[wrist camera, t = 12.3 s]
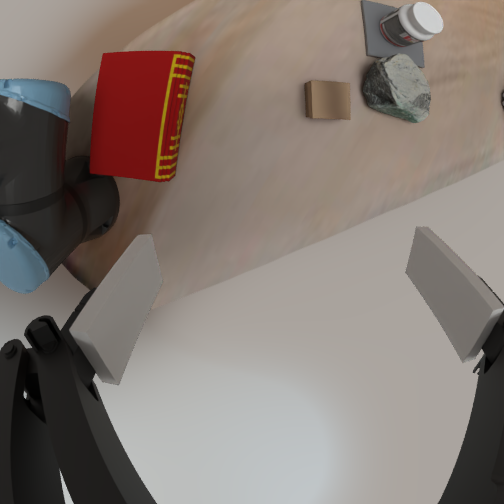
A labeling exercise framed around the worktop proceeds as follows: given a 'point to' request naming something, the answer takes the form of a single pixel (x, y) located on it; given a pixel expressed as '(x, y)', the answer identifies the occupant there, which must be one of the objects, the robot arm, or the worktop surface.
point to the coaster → (377, 41)
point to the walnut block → (327, 100)
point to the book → (139, 113)
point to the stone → (398, 88)
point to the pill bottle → (411, 24)
